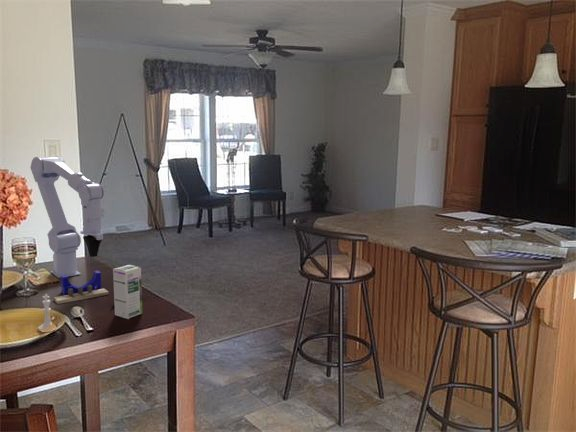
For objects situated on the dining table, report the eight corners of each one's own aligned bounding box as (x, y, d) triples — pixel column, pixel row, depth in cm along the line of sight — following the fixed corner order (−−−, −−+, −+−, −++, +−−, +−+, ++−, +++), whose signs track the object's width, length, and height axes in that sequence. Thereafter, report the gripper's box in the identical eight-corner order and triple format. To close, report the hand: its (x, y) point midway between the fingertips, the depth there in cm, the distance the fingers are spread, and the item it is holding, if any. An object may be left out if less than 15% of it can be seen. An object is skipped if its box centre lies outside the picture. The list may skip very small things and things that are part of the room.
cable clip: (64, 296, 168) (63, 278, 167) (61, 292, 171) (60, 275, 170) (102, 290, 175) (101, 273, 174) (98, 287, 178) (98, 270, 177)
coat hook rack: (53, 300, 163) (53, 291, 163) (104, 291, 173) (103, 282, 173) (57, 303, 160) (57, 294, 160) (108, 294, 170) (108, 285, 170)
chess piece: (41, 325, 143) (40, 291, 141) (60, 325, 144) (58, 291, 142) (34, 332, 138) (32, 297, 137) (53, 332, 139) (52, 297, 137)
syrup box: (127, 319, 149) (126, 271, 147) (114, 315, 152) (112, 267, 150) (142, 313, 154) (141, 267, 152) (129, 309, 157) (128, 263, 155)
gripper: (73, 216, 182) (75, 253, 184) (87, 222, 171) (89, 262, 173) (93, 214, 187) (94, 250, 189) (108, 220, 176) (109, 259, 178)
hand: (93, 256), depth 181 cm, fingers closed
